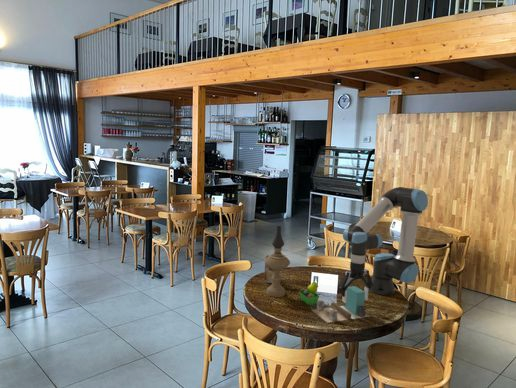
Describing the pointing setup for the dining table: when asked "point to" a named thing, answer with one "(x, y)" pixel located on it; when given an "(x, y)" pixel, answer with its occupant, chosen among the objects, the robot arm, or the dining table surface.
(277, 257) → the oil lamp
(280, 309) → the dining table surface
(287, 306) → the dining table surface
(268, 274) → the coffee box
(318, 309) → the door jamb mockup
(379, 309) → the dining table surface
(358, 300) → the teal box
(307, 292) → the fruit basket
